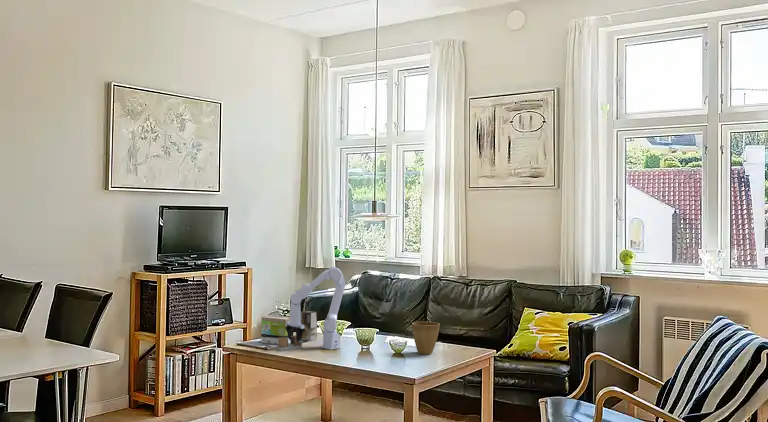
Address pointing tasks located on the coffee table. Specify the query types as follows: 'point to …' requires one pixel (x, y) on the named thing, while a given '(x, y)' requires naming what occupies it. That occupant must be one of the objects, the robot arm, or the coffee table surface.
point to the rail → (290, 346)
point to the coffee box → (309, 325)
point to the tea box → (273, 328)
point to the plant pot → (425, 336)
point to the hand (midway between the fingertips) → (294, 340)
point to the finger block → (294, 341)
